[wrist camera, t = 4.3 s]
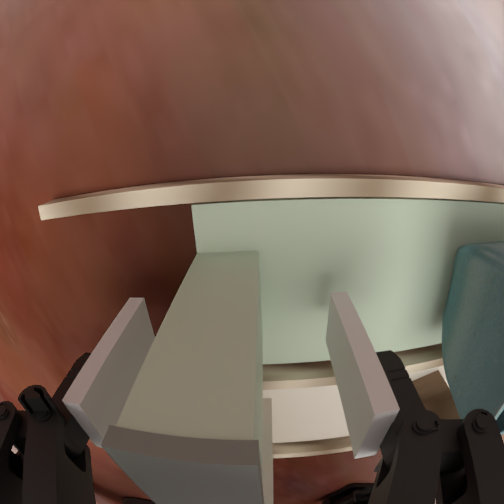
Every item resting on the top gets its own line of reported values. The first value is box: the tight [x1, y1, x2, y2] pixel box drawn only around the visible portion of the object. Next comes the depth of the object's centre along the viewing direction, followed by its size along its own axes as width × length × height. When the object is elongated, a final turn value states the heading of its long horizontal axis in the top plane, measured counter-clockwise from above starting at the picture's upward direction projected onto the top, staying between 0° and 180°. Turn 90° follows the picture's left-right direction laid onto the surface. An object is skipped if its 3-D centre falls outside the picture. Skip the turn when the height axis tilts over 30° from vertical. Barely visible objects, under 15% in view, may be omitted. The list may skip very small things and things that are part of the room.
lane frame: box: [38, 174, 504, 458], centre depth 16 cm, size 33×22×3 cm
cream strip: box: [262, 365, 450, 504], centre depth 14 cm, size 22×8×11 cm, turn 93°
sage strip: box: [101, 197, 504, 504], centre depth 10 cm, size 22×10×11 cm, turn 93°
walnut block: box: [412, 370, 460, 419], centre depth 16 cm, size 5×5×5 cm
